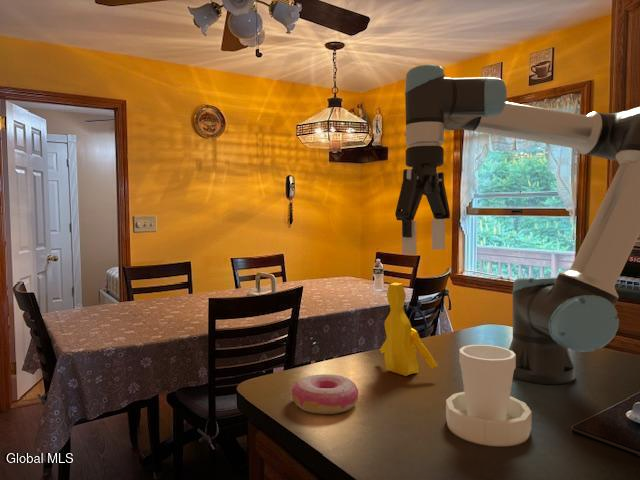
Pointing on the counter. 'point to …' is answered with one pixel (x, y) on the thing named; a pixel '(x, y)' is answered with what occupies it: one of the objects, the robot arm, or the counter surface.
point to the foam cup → (487, 380)
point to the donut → (325, 394)
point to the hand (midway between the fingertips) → (424, 251)
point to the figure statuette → (402, 337)
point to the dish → (489, 423)
